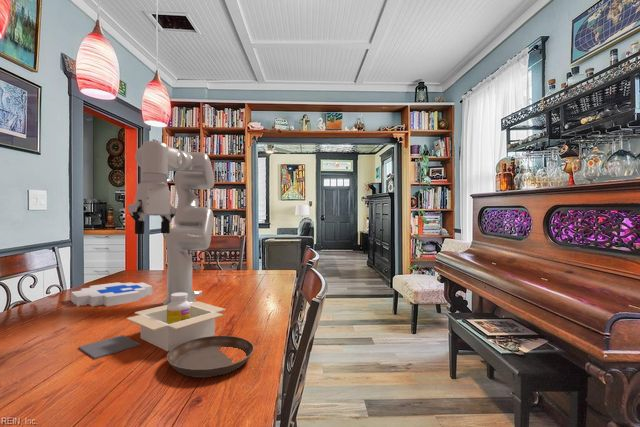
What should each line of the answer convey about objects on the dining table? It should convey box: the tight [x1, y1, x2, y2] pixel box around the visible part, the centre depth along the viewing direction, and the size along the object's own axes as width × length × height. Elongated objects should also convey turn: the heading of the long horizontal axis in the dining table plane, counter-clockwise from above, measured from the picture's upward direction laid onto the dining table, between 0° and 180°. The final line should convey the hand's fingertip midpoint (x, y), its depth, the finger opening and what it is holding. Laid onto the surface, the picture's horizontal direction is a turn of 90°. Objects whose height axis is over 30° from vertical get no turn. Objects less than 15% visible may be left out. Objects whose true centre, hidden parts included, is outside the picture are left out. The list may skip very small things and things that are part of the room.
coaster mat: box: [78, 334, 141, 360], centre depth 88 cm, size 11×11×1 cm
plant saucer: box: [166, 335, 255, 378], centre depth 80 cm, size 21×21×3 cm
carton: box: [126, 300, 227, 352], centre depth 96 cm, size 23×23×7 cm
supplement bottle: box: [167, 292, 191, 324], centre depth 97 cm, size 7×7×13 cm
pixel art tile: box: [70, 281, 153, 307], centre depth 141 cm, size 28×4×28 cm
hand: (152, 233), depth 102 cm, fingers open, 9 cm apart
